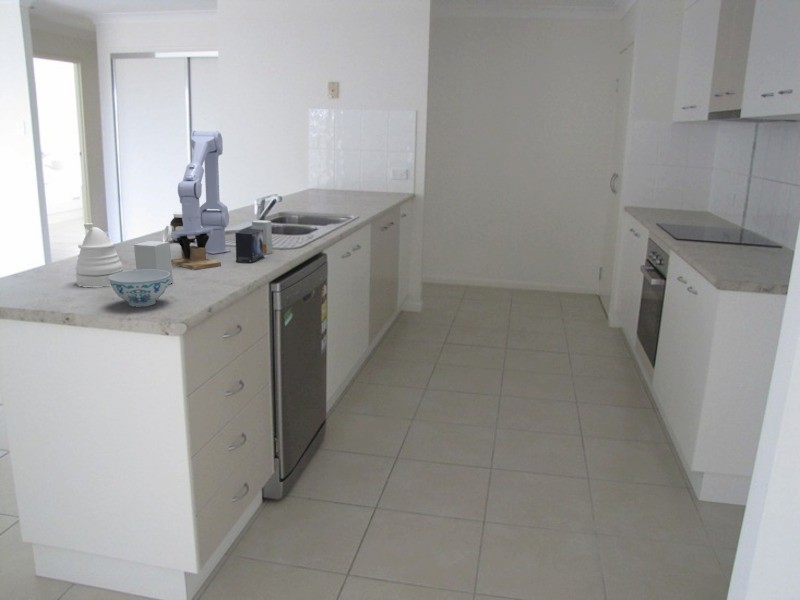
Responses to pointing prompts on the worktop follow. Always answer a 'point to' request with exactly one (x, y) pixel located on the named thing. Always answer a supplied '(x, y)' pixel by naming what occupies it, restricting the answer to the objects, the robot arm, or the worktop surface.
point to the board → (196, 264)
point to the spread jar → (175, 228)
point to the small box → (249, 245)
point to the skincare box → (264, 234)
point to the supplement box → (154, 256)
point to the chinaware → (140, 285)
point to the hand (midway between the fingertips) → (194, 257)
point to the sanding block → (195, 254)
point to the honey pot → (96, 259)
